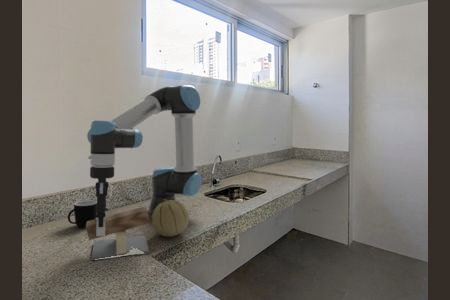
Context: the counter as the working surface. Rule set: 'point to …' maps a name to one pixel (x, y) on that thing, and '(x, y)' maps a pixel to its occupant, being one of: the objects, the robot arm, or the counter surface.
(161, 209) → the cantaloupe
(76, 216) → the mug
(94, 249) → the fulcrum
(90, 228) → the beam
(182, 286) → the counter surface
